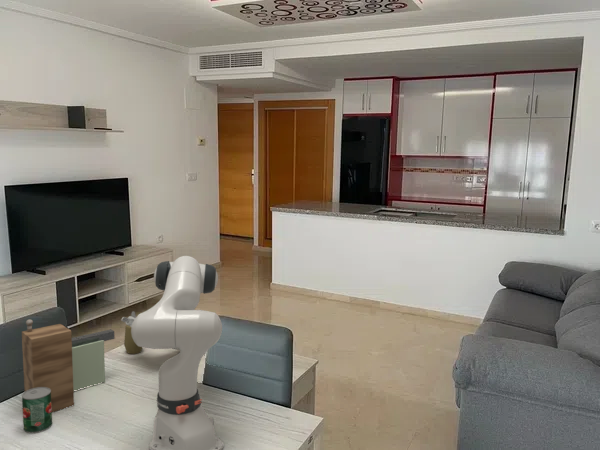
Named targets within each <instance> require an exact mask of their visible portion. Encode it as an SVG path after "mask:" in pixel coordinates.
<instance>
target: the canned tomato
mask: <svg viewBox="0 0 600 450" xmlns="http://www.w3.org/2000/svg"><path fill="white" fill-rule="evenodd" d="M21 405H22V423H23V424H22V425H23V429H22V430H23V431H24V432H25V433H27V434H38V433H42V432H45V431H46V430H48V429H50V428H51V427H52V426H53V412H52V408H51V389H50V388H47V387H37V388H32V389H29V390H27V391H24V392H23V393H22V394H21Z"/></svg>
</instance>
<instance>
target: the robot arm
mask: <svg viewBox="0 0 600 450" xmlns="http://www.w3.org/2000/svg"><path fill="white" fill-rule="evenodd" d="M217 271H218V270H217V268H216V267H215V266H214V265H212V264H209V263H205V264H203V263H199V261H198V259H196V258H194V257H193V256H190V255H182V256H179V257H178V258H176V259H175V260H173V261H170V260H166V261H161V262H160V263H158V264H157V266H156V268H155V270H154V272H153V280H154V283H155V287H156V288H157V289H158V290H160V291H163V294H162V297H161V298H160V300H159V301H157V303H156V304H154V305H152V307H150V308H149V309H147V310H145V311H142V312H141V313H139V314H137V316H136V318H134V317H131V315H130V316H128V317H125V316H123V317H122V318H121V322H123V323H125V325H128V326H130V327H132V328H131V334H132V338H133V340H134V342H135V343H136V345H137V346H139V347H142V348H144V349H146V348H147V349H151V350H163V349H164V350H169V349H170V350H171V349H172V350H175V351H176V350H177V351H179V352H178V353H177V354H176V355H174V356H172V357H170V358H168V359H167V360H165V361H164V362H162V364H161V365H160V367H159V369H158V392H157V395H156V396H157V397H156V406H157V408H158V409H157V411H156V413H155V416H154V419H153V428H152V440H151V441H150V442H149V444H148V449H149V450H223V449H224V442H223V441H222V440H221V439H220V438H219V437H218V435H217V434H216V431H215V427H214V423H215V421H214V418H213V417H211V416H210V417H209V416H208V414H207V412H206V410H205V408H203V406H202V405H201V404H202V401H203V399H202V398H201V397H200V396H201V395H200V393H199V389H198V373H199V366H200V364H201V360H202V358H203V357H204V356H205V354H206V353H207V351H209V349H211V348H212V347H213V346H215V344H217V343H218V341H219V340H220V338H221V335H222V334H223V333H222V332H223V324H222V320H221V319H220V316H219V315H218V314H217V313H216V312H213V311H210V310H209V311H208V310H203V309H196V308H197V306H198V305H199V303H200V300H201V294H205V295H206V294H211V293H212V292H214V291H215V289H216V288H217V285H218V281H219V274H218V272H217Z"/></svg>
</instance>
